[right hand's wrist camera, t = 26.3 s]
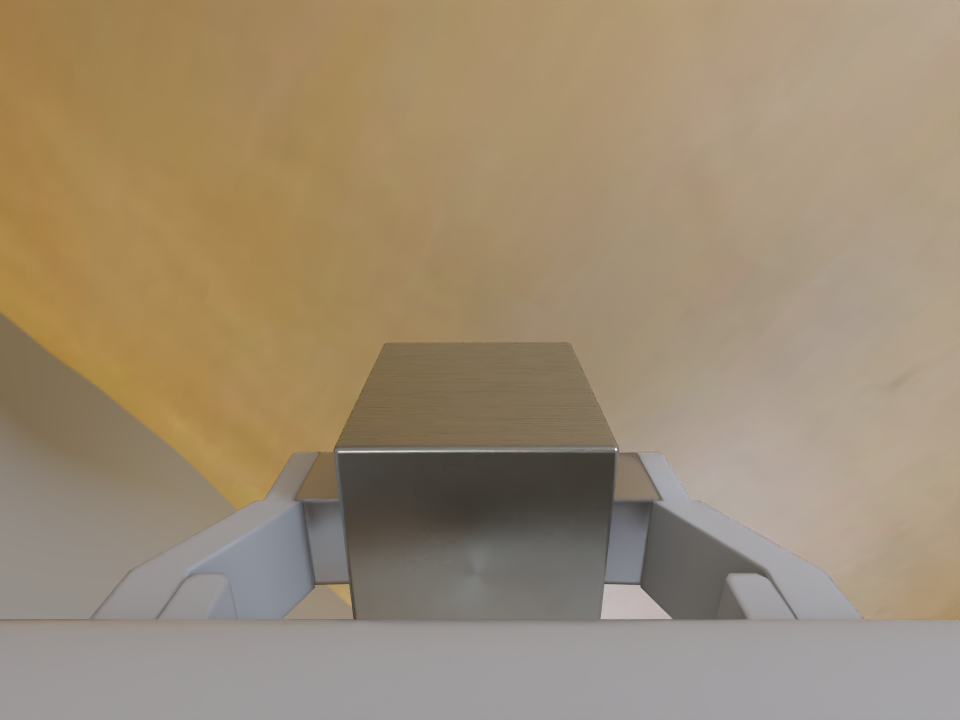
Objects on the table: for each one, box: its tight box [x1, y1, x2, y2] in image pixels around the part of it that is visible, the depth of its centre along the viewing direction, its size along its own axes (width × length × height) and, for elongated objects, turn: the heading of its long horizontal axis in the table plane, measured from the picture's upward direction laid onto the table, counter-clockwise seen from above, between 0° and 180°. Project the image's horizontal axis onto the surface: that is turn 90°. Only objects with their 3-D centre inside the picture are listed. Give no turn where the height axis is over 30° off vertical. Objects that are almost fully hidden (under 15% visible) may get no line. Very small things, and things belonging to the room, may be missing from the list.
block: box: [333, 343, 619, 619], centre depth 10 cm, size 4×5×4 cm
